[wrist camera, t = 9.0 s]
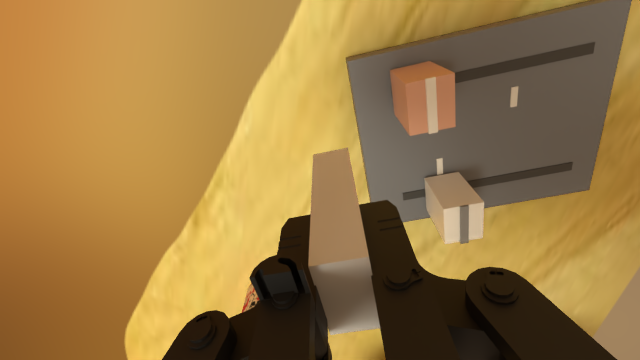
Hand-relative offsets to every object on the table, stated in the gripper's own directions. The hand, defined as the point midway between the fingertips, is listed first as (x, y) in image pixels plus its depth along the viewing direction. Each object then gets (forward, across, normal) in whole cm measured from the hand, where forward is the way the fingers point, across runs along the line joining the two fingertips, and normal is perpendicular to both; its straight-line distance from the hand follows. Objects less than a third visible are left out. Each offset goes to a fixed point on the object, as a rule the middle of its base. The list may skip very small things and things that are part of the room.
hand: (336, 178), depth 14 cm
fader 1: (+13, -6, 0) cm, 14 cm away
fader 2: (+13, -9, +10) cm, 18 cm away
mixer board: (+15, -12, +5) cm, 20 cm away
